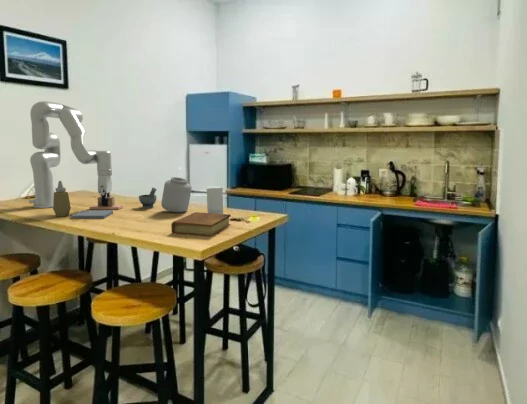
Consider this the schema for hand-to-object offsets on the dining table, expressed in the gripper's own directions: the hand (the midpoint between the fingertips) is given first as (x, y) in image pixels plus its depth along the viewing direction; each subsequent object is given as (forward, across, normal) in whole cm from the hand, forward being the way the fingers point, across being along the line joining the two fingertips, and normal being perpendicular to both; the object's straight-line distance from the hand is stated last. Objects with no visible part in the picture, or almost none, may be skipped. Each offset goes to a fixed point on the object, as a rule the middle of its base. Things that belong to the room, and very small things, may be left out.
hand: (106, 204), depth 222 cm
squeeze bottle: (+2, +20, -16) cm, 26 cm away
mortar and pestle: (+2, -4, +23) cm, 23 cm away
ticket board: (+2, +21, 0) cm, 21 cm away
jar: (+2, +9, +42) cm, 43 cm away
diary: (+3, +51, +59) cm, 78 cm away
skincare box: (+2, +22, +63) cm, 67 cm away
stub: (+2, 0, 0) cm, 2 cm away
